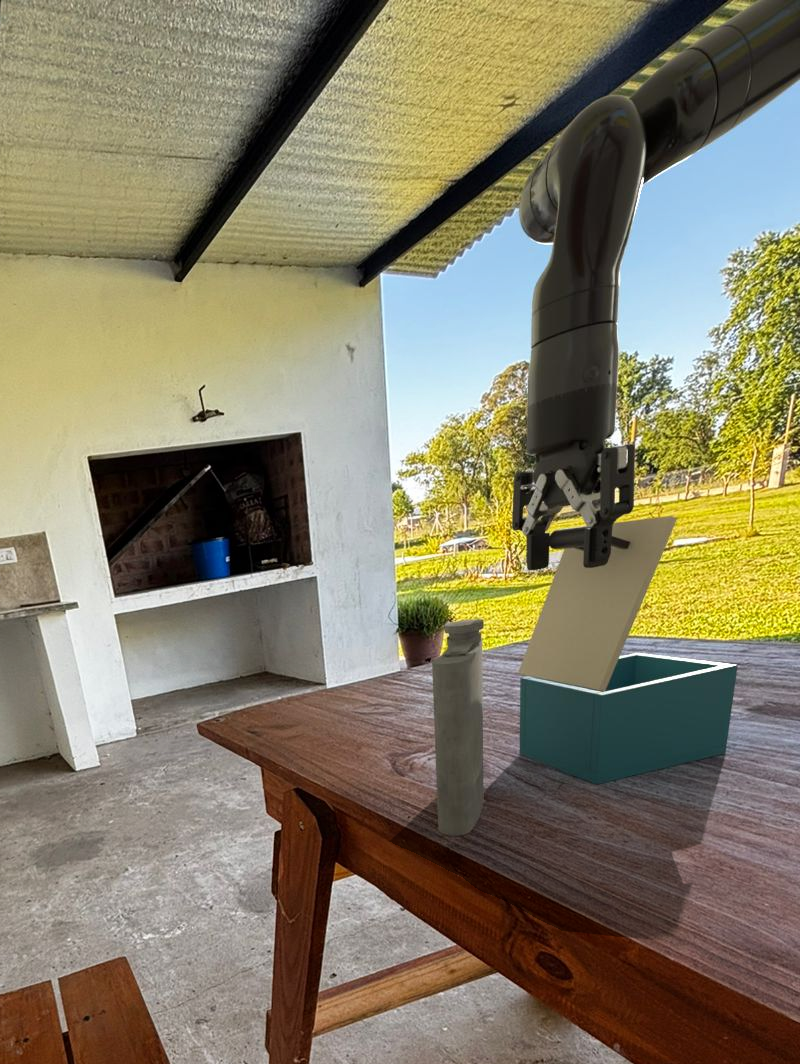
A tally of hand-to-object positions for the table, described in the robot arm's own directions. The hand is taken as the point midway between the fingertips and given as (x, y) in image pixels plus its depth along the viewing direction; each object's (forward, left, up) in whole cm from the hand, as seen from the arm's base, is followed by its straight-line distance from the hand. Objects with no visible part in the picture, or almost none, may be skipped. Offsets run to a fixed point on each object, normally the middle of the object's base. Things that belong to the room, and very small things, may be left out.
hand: (564, 568), depth 65 cm
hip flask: (+14, +4, -23) cm, 27 cm away
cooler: (-8, 0, -23) cm, 24 cm away
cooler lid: (-3, 0, -5) cm, 6 cm away
